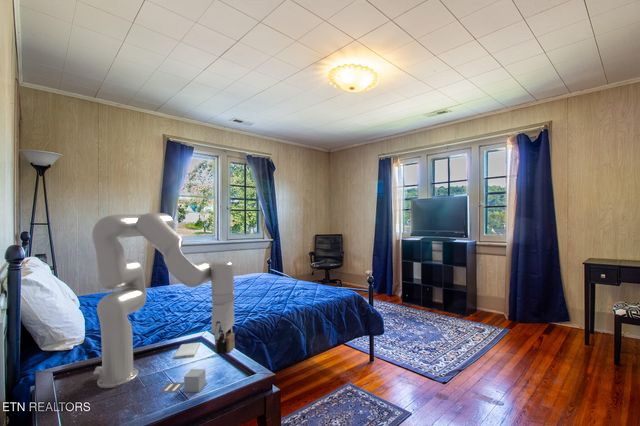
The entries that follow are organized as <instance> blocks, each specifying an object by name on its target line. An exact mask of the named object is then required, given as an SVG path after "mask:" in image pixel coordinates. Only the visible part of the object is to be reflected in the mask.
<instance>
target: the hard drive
mask: <svg viewBox="0 0 640 426" xmlns="http://www.w3.org/2000/svg"><path fill="white" fill-rule="evenodd" d="M200 346H201V343H200V342H192V343H191V342H190V343H183V344H180V346H179V348H178V349H177V351H176V352H175V354H174V356H173V360H175V359H185V358H194V357H195V356H196V354H197V352H198V350H199V348H200Z"/></svg>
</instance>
